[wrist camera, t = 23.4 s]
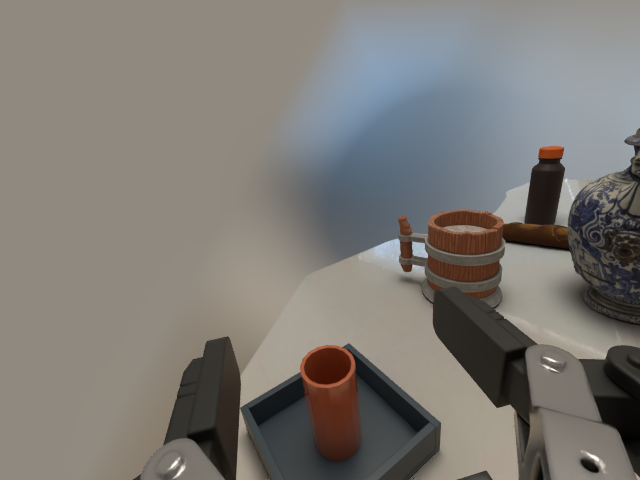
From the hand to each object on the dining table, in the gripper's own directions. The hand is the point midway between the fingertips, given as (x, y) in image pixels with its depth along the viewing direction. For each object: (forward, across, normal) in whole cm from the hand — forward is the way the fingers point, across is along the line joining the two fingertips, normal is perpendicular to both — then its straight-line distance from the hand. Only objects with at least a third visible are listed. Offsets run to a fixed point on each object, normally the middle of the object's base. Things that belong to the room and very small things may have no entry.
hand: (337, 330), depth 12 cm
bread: (+47, -59, +28) cm, 81 cm away
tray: (+15, -1, +28) cm, 32 cm away
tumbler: (+14, -1, +27) cm, 31 cm away
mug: (+38, -29, +28) cm, 56 cm away
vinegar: (+57, -69, +28) cm, 94 cm away
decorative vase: (+24, -52, +28) cm, 64 cm away
